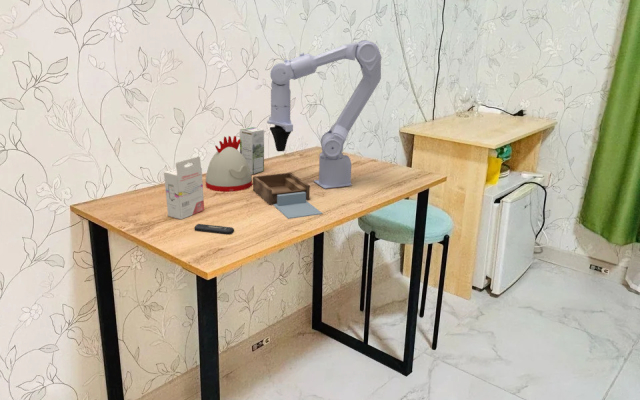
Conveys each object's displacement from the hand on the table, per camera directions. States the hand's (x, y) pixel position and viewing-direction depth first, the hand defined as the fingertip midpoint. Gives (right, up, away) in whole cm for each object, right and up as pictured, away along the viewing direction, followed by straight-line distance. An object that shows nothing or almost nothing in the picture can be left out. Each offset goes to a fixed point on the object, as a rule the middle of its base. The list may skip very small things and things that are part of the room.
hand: (280, 150), depth 156 cm
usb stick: (-13, -23, -33) cm, 42 cm away
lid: (+6, -18, -18) cm, 26 cm away
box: (+1, -13, -7) cm, 15 cm away
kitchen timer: (-16, -10, +2) cm, 19 cm away
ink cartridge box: (-23, -18, -22) cm, 37 cm away
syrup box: (-10, -6, +15) cm, 20 cm away
